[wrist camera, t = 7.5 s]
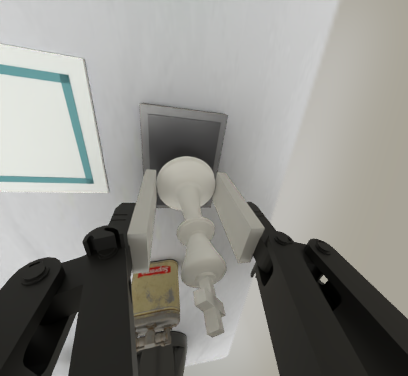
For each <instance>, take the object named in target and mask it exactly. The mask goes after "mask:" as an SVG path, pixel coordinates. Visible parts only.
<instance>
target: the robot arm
mask: <svg viewBox="0 0 408 376" xmlns="http://www.w3.org/2000/svg"><path fill="white" fill-rule="evenodd" d="M212 200H213V203H214V205H215V208H216V210H217V213H218V215H219V217H220V220H221V222H222V225H223V227H224V230H225V232H226V235H227V237H228V240H229V242H230V244H231V247H232V249H233V252H234V254H235V257H236V259H237V262H238V263H247V262H250V261H251V259H252V257H253V256H254V258H255V260H256V263H255V265H254V268H253V270H252V272H251V277H253V276H254V274H255V273H256V278H257V281H258V286H259V290H260V294H261V298H262V302H263V307H264V311H265V315H266V319H267V323H268V328H269V332H270V336H271V340H272V344H273V349H274V353H275V357H276V361H277V365H278V370H279V374H280V376H408V319H407V318H406V317H405V316H404V315H403V314H402V313H401V312H400V311H399V310H397V308H396V307H394V306H393V305H392V304H391V303H390V302H389V301H388V300H387V299H386V298H385V297H384V296H383V295H382V294H381V293H380V292H379V291H378V290H377V289H376V288H375V287H374V286H372V285H371V284H370V283H369V282H368V281H367V280H366V279H365V278H364V277H363V276H362V275H361V274H360V273H359V272H358V271H357V270H356V269H355V268H354V267H353V266H352V265H350V264H349V263H348V262H347V261H346V260H345V259H344V258H343V257H342V256H341V255H340V254H339V253H338V252H337V251H336V250H335V249H333V247H331V246H330V245H329V244H327V243H325V242H324V241H321V240H318V239H310V240H309V242H308V243H307V245H306V244H301V243H297V242H294V241H293V240H292V239H291V238H290V237H289V236H287V235H286V234H284V233H282V232H278V231H276V230H275V229H274V227H273V226H272V225H271V223H270V222H269V221H268V220H267V218H266V217H264V214H263V213H262V212H261V211H260V209H259V208H258V207H257V206H256V205H255V204H253V203H252V202H246V201H245V199H244V198H243V197H242V195H241V194H240V192H239V191H238V190H237V188H236V187H235V185H234V184H233V183H232V181H231V180H230V178H229V177H228V175H227V174H226V173H219V172H217V176H216V181H215V190H214V193H213V197H212ZM156 201H157V185H156V170H150V169H146V171H145V174H144V177H143V181H142V184H141V188H140V191H139V195H138V198H137V202H136V203H121V204H120V205H119V206H118V207H117V208H116V209H115V211H114V214H113V216H112V218H111V221H110V223H109V225H108V226H102V227H98V228H96V229H94V230H92V231H91V232H89V233H88V234H87V235H86V236H85V238H84V240H83V245H84V248H85V251H86V253H87V255H85V256H82V257H80V258H77V259H73V260H70V261H67V262H63V263H61V262H60V260H58V259H56V258H50V257H47V258H42V259H38V260H36V261H33V262H31V263H29V264H27V265H25V266H24V267H22V268H21V269H19V270H18V271H17V272H16V273H15V274H14V275H13V276H12V277H11V278H10V279H9V280H8V281H7V282H6V284H5V285H4V286H3V287H2V288H1V290H0V376H51V375H52V372H53V370H54V367H55V365H56V362H57V360H58V358H59V355H60V353H61V350H62V348H63V345H64V343H65V340H66V338H67V335H68V333H69V331H70V328H71V326H72V323H73V321H74V318H75V316H76V313H77V312H79V313H78V319H77V325H76V331H75V338H74V344H73V350H72V356H71V362H70V368H69V375H68V376H183V373H184V366H185V360H186V353H187V339H186V336H185V335H184V334H182V333H178V332H170V333H171V334H170V336H171V344H169V345H164V346H161V345H159V346H155V347H152V348H147V349H143V350H140V351H136V339H135V326H134V313H133V300H132V288H131V279H130V276H131V271H132V272H133V274H135V273H145V272H149V266H150V257H151V248H152V238H153V229H154V220H155V211H156ZM323 275H325V277H326V278H327V279H328V281H327V282H326V283H325V284H324V283H322V282H321V281H320V278H321V277H322V276H323ZM162 333H163V332H162ZM156 334H157V333H156ZM158 343H159V342H158ZM138 347H139V346H138ZM141 347H142V346H141Z"/></svg>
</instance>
